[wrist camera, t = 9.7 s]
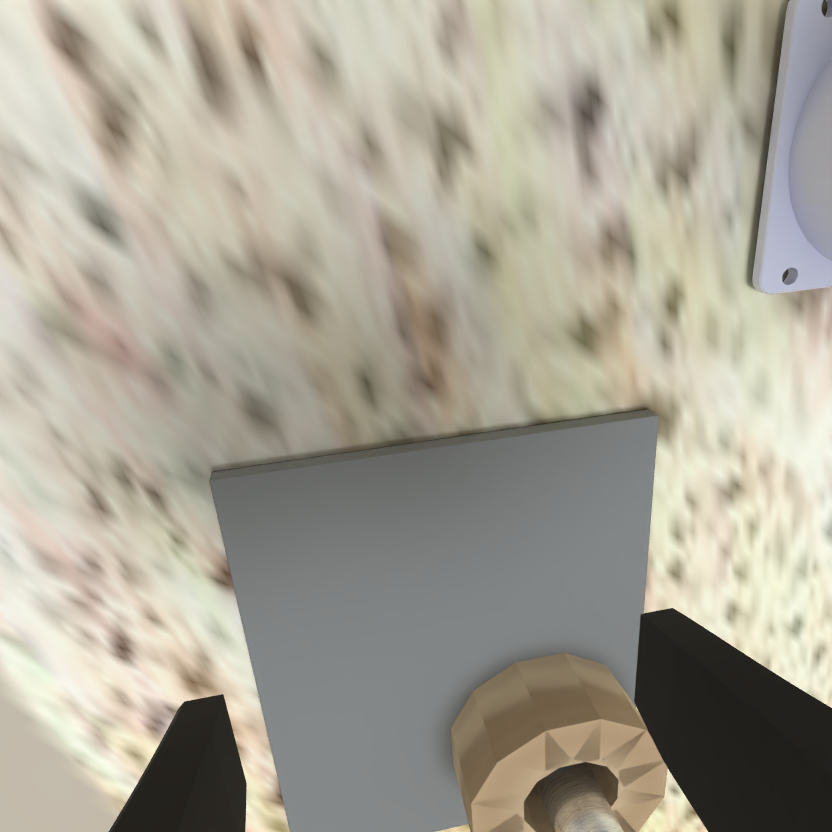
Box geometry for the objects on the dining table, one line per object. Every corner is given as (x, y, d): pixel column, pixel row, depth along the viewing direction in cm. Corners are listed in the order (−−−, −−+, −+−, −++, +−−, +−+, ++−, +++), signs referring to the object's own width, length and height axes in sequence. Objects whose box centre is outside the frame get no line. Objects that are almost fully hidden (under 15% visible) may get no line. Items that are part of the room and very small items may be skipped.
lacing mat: (649, 409, 20) (658, 415, 19) (623, 773, 26) (630, 786, 26) (212, 471, 18) (209, 481, 18) (297, 847, 24) (297, 863, 24)
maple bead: (629, 639, 23) (674, 703, 20) (620, 772, 25) (659, 844, 23) (446, 675, 22) (467, 747, 19) (456, 809, 24) (476, 889, 22)
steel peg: (549, 698, 23) (671, 937, 16) (572, 726, 24) (700, 966, 17) (506, 728, 23) (608, 979, 16) (531, 755, 24) (639, 1006, 17)
